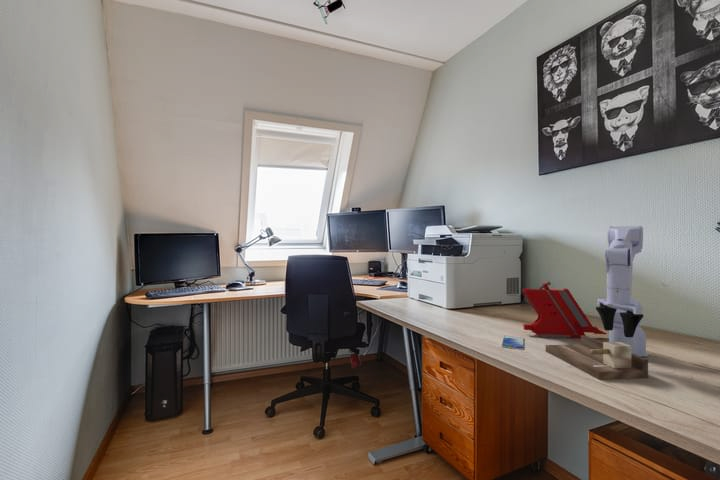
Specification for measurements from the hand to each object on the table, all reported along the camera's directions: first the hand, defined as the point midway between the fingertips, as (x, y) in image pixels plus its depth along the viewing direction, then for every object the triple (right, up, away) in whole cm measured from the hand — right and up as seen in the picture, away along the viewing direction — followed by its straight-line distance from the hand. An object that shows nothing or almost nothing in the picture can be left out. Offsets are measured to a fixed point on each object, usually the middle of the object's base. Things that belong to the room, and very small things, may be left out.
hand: (618, 333), depth 105 cm
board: (-7, -9, +1) cm, 12 cm away
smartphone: (-22, -10, +22) cm, 33 cm away
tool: (+2, -10, +31) cm, 33 cm away
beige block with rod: (-8, -7, -7) cm, 12 cm away
